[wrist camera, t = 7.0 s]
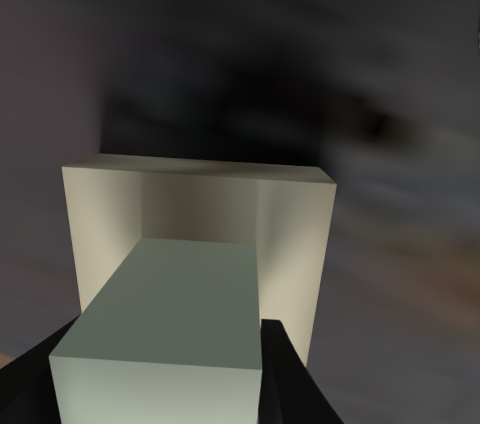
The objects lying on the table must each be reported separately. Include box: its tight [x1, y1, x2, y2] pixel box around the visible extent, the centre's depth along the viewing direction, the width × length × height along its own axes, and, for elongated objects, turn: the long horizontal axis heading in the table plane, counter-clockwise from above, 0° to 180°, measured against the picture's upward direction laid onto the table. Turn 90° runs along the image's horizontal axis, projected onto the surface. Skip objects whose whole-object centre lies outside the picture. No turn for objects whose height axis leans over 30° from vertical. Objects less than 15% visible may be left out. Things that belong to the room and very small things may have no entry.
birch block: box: [62, 153, 337, 367], centre depth 14 cm, size 10×10×3 cm
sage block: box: [49, 237, 262, 424], centre depth 10 cm, size 4×4×6 cm
